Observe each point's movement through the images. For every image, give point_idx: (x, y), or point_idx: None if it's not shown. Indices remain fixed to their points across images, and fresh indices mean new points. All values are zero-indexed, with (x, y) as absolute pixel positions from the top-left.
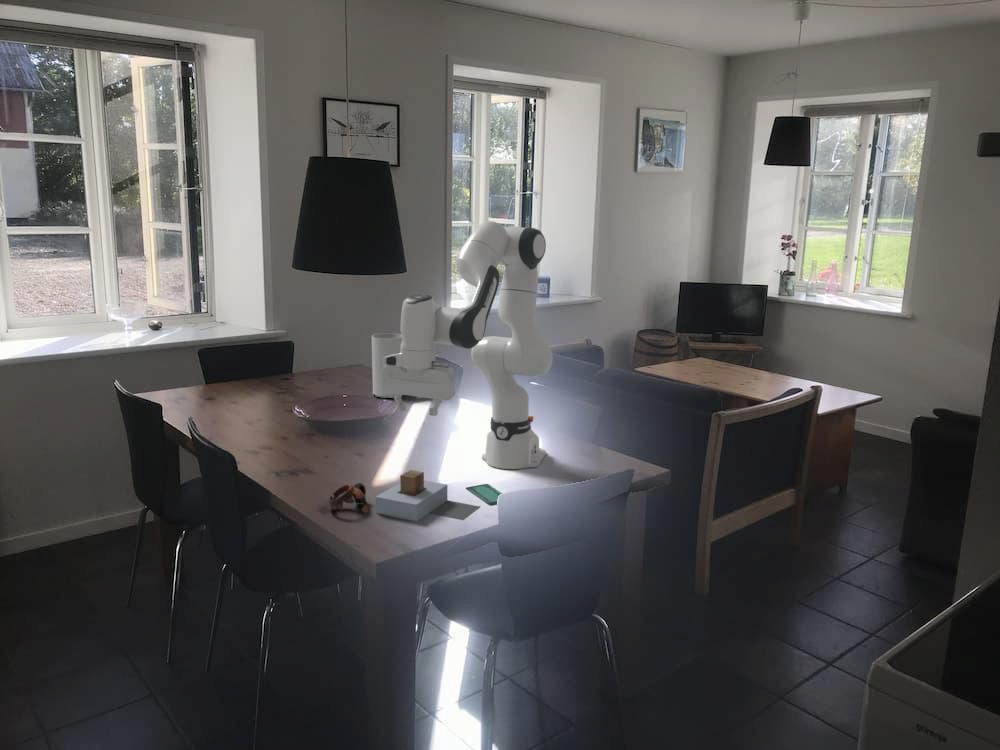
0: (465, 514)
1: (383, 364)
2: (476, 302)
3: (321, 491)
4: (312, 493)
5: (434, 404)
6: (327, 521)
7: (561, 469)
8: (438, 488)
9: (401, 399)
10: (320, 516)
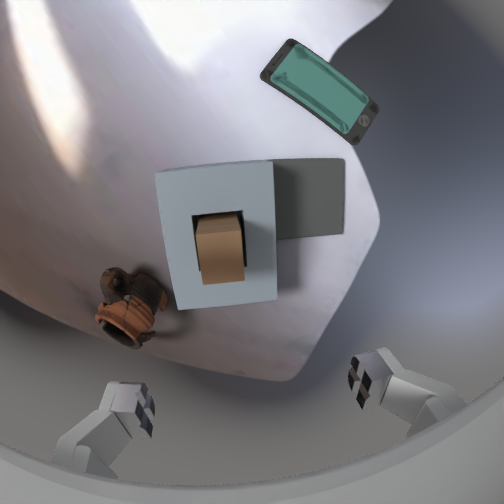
0: (335, 209)
1: None
2: None
3: (35, 255)
4: (34, 270)
5: (408, 422)
6: None
7: None
8: (267, 196)
9: (95, 430)
10: None
